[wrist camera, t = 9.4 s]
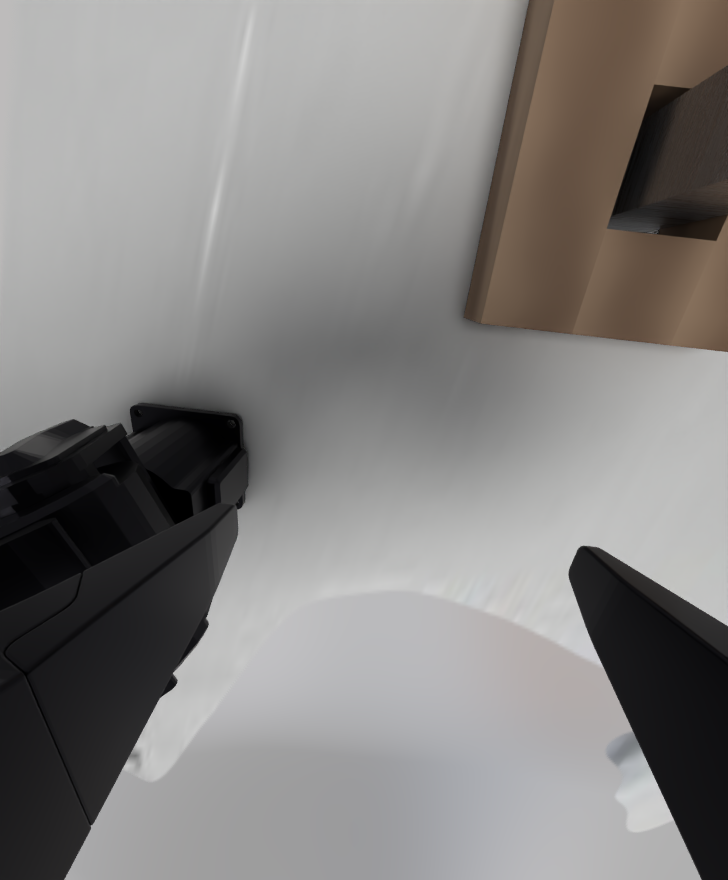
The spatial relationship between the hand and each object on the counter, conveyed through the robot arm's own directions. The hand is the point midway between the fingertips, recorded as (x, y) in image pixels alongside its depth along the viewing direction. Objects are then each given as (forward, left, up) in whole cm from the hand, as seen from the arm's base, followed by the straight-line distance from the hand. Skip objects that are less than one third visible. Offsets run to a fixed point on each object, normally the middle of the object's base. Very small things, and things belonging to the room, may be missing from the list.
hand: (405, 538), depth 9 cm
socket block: (+9, +11, -12) cm, 19 cm away
